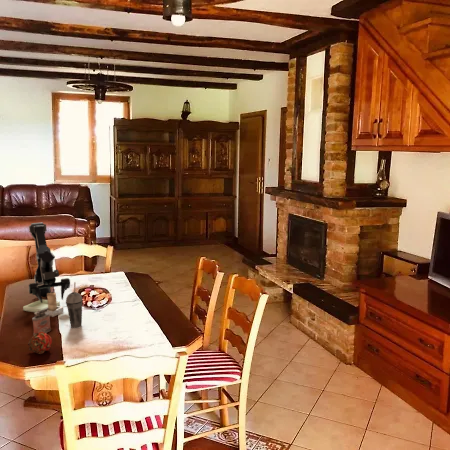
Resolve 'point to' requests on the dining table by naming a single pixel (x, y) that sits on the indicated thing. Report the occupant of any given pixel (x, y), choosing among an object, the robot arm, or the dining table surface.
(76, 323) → the beverage cup
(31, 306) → the tray
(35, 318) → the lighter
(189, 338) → the dining table surface
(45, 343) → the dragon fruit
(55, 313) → the pin socket
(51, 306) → the pin
